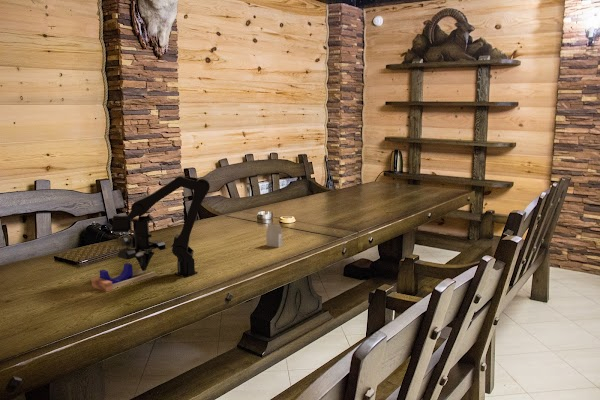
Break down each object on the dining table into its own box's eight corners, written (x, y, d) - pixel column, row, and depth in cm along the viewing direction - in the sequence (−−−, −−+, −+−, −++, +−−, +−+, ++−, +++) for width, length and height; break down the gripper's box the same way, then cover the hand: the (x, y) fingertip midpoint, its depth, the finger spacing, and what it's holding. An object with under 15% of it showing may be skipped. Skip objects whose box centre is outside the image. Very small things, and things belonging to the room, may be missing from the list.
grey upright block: (278, 247, 255) (278, 226, 253) (266, 245, 258) (266, 225, 257) (282, 245, 258) (282, 225, 257) (270, 243, 262) (270, 223, 260)
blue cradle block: (107, 288, 200) (106, 272, 199) (100, 286, 202) (99, 270, 201) (135, 280, 209) (134, 265, 208) (128, 277, 212) (127, 263, 211)
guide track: (156, 275, 214) (156, 268, 213) (106, 291, 196) (106, 283, 196) (142, 271, 219) (141, 264, 219) (92, 286, 201) (91, 278, 201)
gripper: (147, 224, 223) (149, 261, 226) (107, 234, 208) (110, 273, 211) (165, 228, 217) (167, 266, 220) (126, 238, 202) (128, 278, 205)
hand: (143, 270), depth 214 cm, fingers closed
